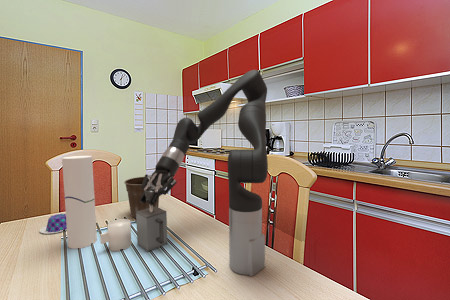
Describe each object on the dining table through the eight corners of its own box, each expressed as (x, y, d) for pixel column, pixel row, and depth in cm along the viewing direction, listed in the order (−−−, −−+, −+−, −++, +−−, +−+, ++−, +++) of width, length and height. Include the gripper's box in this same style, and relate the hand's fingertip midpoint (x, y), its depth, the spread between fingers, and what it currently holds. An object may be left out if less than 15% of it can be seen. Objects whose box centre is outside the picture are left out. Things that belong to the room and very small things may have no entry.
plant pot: (156, 220, 99) (155, 183, 98) (119, 221, 99) (117, 184, 98) (166, 208, 115) (165, 176, 114) (134, 208, 115) (133, 176, 114)
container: (83, 249, 75) (77, 158, 72) (61, 247, 77) (55, 158, 74) (102, 237, 83) (97, 155, 81) (82, 235, 85) (77, 155, 83)
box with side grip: (172, 246, 77) (171, 213, 76) (152, 255, 71) (151, 219, 70) (156, 237, 84) (155, 206, 83) (137, 244, 78) (136, 211, 77)
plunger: (163, 236, 78) (161, 190, 77) (148, 241, 75) (147, 193, 73) (155, 231, 82) (153, 187, 81) (141, 236, 78) (139, 190, 77)
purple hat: (51, 237, 85) (50, 223, 84) (32, 232, 89) (31, 219, 89) (83, 225, 96) (82, 213, 95) (64, 221, 100) (63, 209, 100)
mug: (135, 245, 78) (134, 222, 77) (105, 256, 71) (104, 231, 70) (126, 239, 82) (125, 217, 82) (98, 248, 76) (96, 225, 75)
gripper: (190, 169, 84) (168, 212, 75) (161, 166, 91) (137, 205, 81) (180, 156, 79) (155, 200, 69) (150, 154, 86) (124, 194, 76)
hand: (146, 202), depth 75 cm, fingers closed on plunger, 3 cm apart
